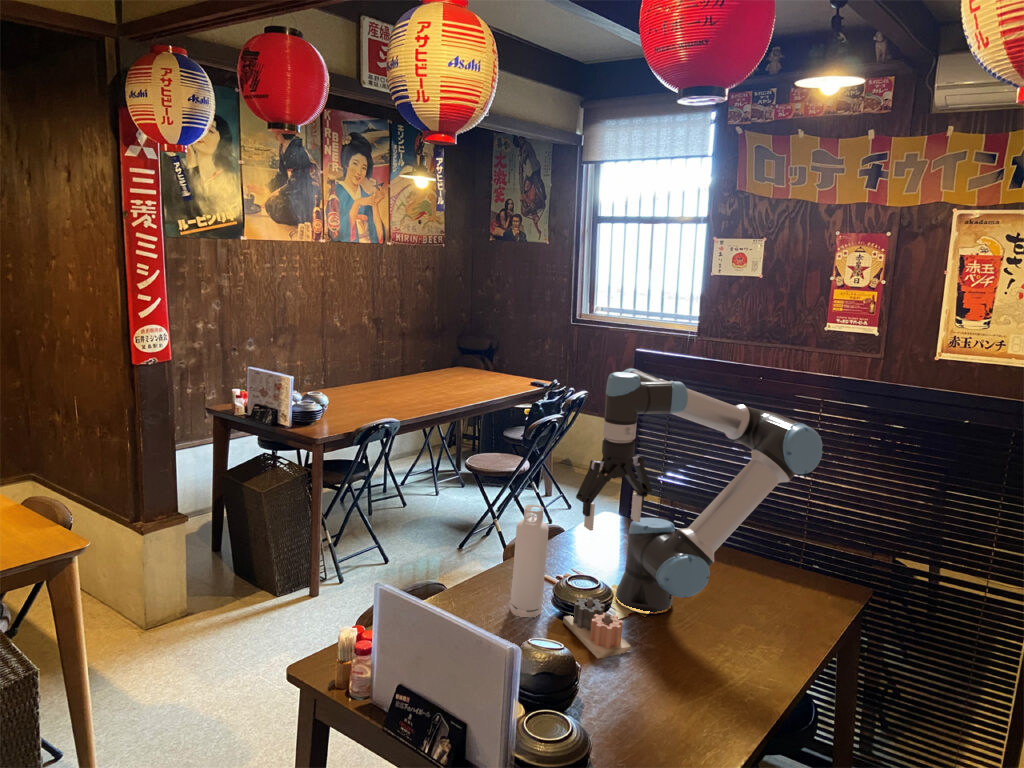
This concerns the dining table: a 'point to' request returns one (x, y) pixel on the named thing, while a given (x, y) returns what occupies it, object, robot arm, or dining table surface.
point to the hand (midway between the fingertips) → (612, 524)
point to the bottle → (529, 563)
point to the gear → (606, 631)
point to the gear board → (583, 627)
